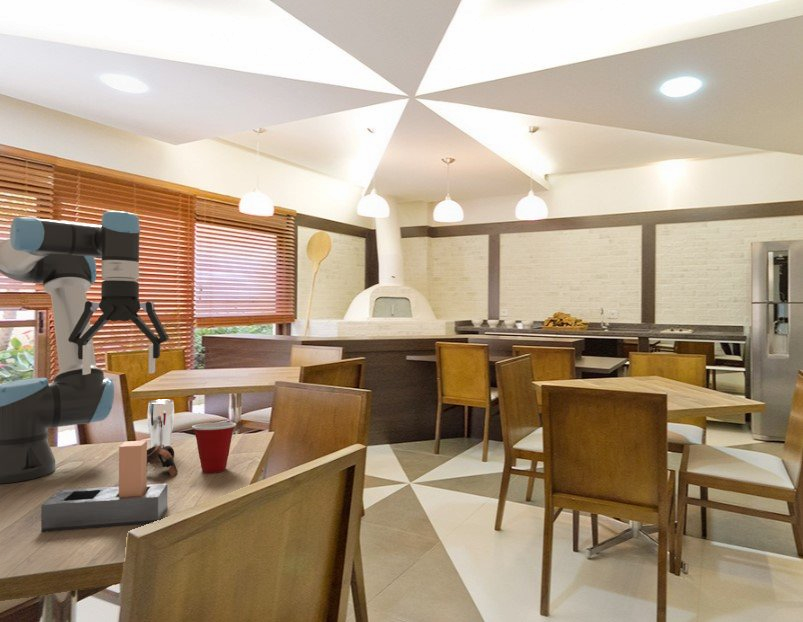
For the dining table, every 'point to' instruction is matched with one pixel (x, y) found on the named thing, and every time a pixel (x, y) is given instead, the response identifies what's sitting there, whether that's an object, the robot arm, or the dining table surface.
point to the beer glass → (160, 422)
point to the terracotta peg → (133, 468)
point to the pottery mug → (162, 458)
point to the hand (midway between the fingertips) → (119, 373)
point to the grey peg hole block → (102, 508)
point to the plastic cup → (214, 445)
